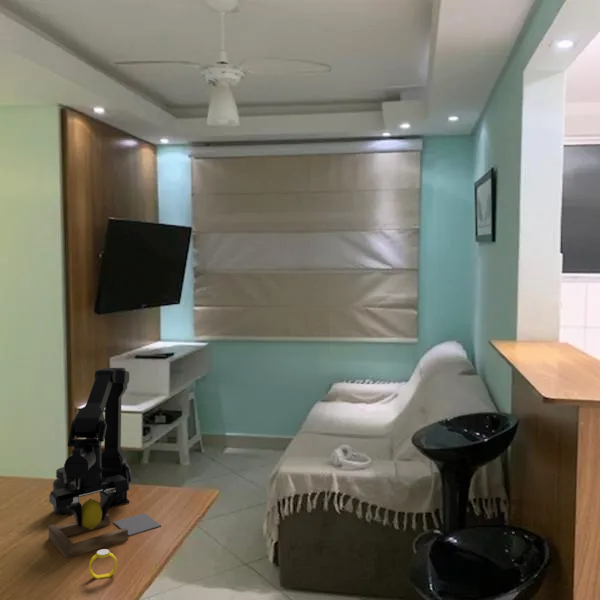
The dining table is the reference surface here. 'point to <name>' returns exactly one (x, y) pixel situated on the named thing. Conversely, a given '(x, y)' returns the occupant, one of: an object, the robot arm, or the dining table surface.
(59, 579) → the dining table surface
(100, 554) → the watch
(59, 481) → the supplement bottle
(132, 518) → the mat
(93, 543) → the shelf lane
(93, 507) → the lemon
